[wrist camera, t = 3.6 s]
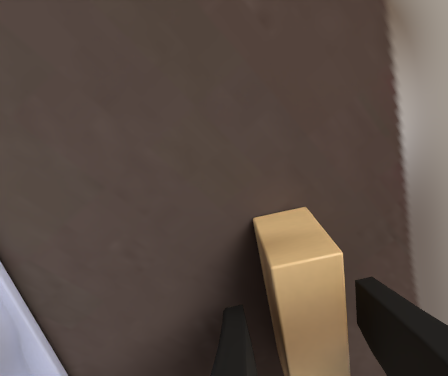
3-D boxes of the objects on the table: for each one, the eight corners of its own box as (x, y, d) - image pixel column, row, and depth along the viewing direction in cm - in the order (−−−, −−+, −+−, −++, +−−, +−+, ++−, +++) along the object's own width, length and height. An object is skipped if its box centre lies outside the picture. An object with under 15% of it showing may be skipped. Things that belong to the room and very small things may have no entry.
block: (321, 343, 13) (353, 416, 10) (277, 352, 13) (298, 428, 10) (306, 205, 10) (344, 252, 8) (252, 217, 10) (270, 268, 8)
